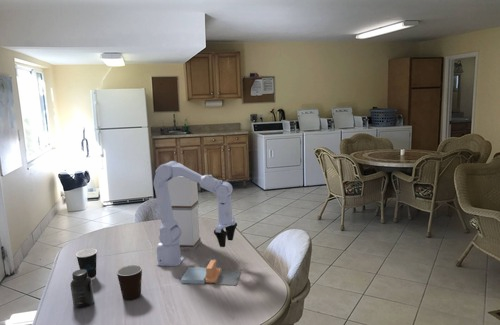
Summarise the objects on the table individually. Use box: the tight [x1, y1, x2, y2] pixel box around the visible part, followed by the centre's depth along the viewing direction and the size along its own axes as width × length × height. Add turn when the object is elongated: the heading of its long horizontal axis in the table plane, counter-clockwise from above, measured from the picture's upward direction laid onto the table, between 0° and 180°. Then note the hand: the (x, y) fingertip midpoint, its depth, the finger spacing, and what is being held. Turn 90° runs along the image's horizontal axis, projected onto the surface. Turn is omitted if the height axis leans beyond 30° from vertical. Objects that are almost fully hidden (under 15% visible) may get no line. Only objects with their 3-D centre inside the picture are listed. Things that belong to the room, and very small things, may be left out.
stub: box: [205, 259, 222, 284], centre depth 151 cm, size 4×10×5 cm, turn 172°
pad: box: [215, 269, 242, 286], centre depth 150 cm, size 8×12×1 cm, turn 172°
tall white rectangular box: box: [167, 171, 202, 251], centre depth 184 cm, size 11×11×35 cm
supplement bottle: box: [70, 269, 95, 310], centre depth 134 cm, size 7×7×12 cm
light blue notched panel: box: [180, 266, 207, 285], centre depth 152 cm, size 9×11×2 cm
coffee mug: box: [116, 264, 143, 302], centre depth 140 cm, size 12×9×10 cm
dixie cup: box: [75, 248, 98, 281], centre depth 154 cm, size 8×8×11 cm
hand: (226, 243), depth 159 cm, fingers open, 7 cm apart
